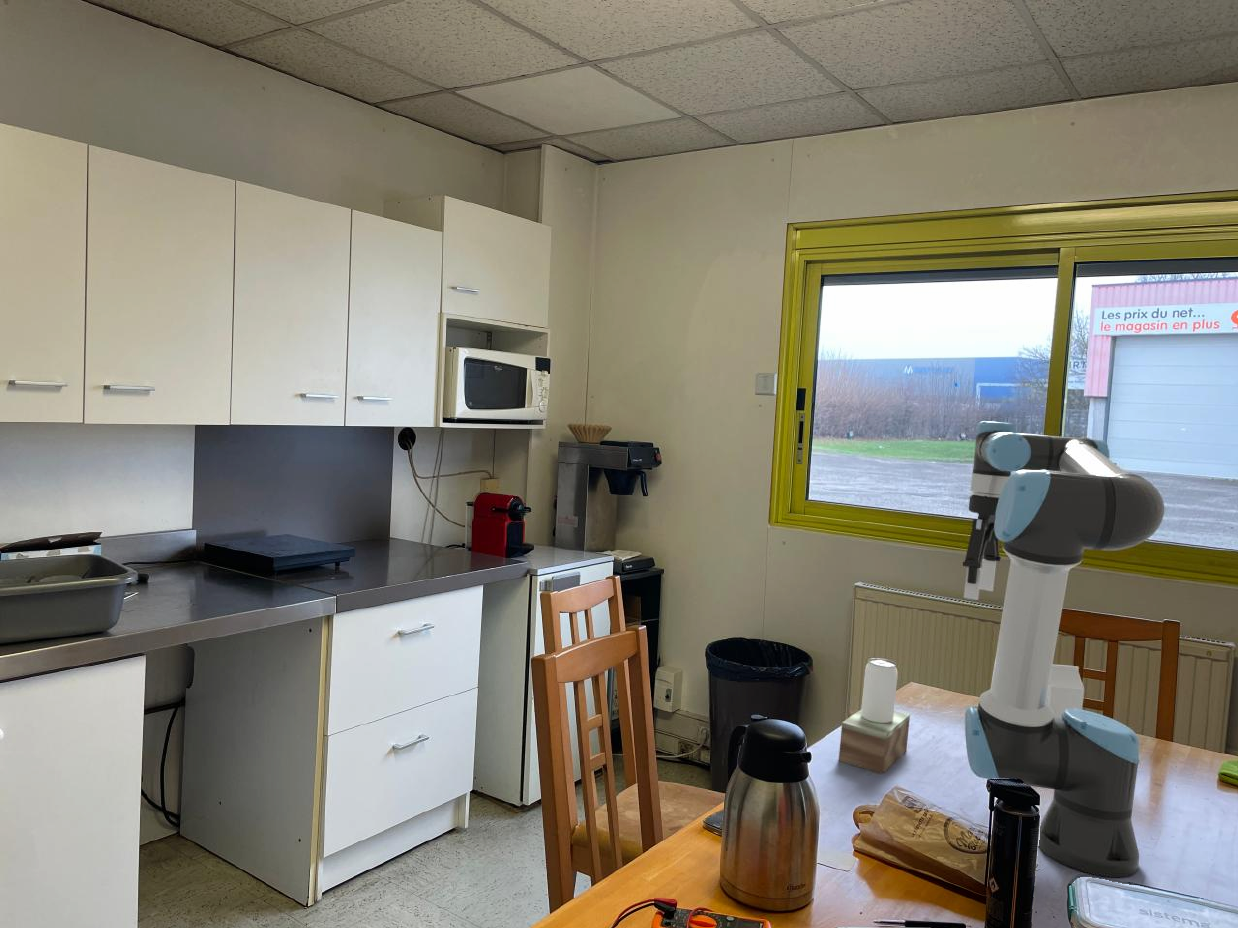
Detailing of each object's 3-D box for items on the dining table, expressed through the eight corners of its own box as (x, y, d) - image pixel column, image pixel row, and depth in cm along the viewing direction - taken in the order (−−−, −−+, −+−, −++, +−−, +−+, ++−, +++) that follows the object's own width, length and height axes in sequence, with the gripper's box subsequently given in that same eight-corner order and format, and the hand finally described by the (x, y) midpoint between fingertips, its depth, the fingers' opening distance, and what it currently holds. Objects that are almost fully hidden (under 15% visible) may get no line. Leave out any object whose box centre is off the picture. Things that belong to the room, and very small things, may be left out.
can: (889, 714, 190) (894, 659, 189) (895, 725, 184) (901, 668, 183) (858, 711, 191) (863, 656, 190) (863, 722, 184) (869, 664, 183)
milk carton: (1076, 756, 197) (1086, 671, 195) (1044, 753, 197) (1053, 668, 195) (1061, 743, 204) (1071, 661, 202) (1030, 741, 204) (1039, 659, 203)
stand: (881, 773, 179) (885, 734, 178) (838, 760, 184) (842, 722, 183) (906, 751, 192) (910, 714, 191) (865, 739, 197) (868, 703, 196)
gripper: (994, 500, 177) (983, 606, 178) (1020, 494, 197) (1009, 589, 199) (955, 495, 181) (944, 599, 182) (984, 490, 202) (974, 583, 203)
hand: (978, 594), depth 191 cm, fingers open, 13 cm apart
